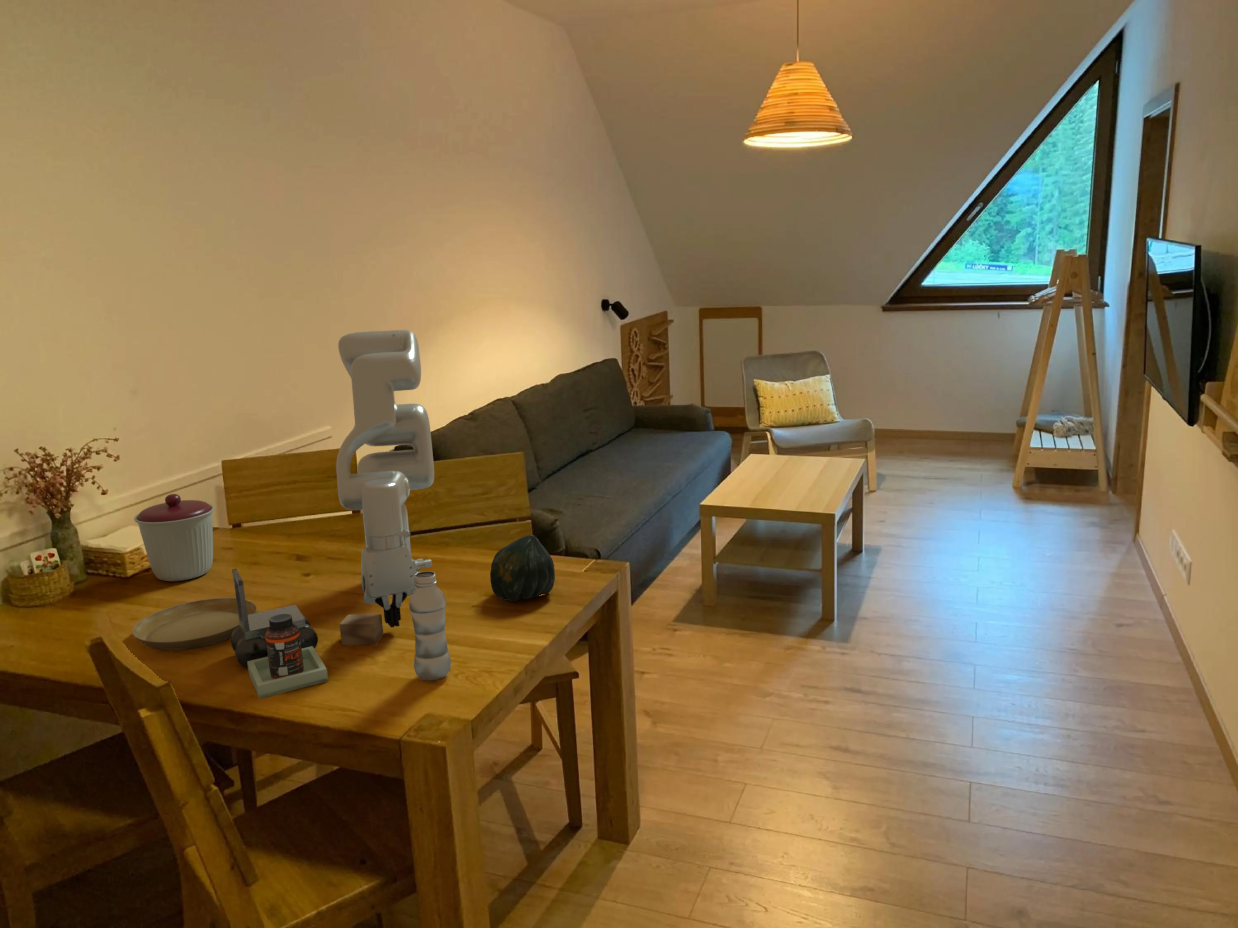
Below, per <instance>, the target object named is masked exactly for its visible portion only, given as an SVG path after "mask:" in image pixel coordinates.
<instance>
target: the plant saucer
mask: <svg viewBox="0 0 1238 928" xmlns="http://www.w3.org/2000/svg"><path fill="white" fill-rule="evenodd" d="M245 600H246V608H247V615H249V614H254V613H257V609H258V607H257V605H256V603H254V602H253V601H251V600H249V599H245ZM238 617H239V616H238V609H237V602H236V597H216V598H213V597H212V598H207V599H206V598H205V599H200V600H199V599H198V600H193V601H189V602H183V603H180V604H175V605H172V606H169V607H167V608H164V609H160V610H158V611H157V612H156V611H155V612H154V613H152V614H149V615H148V616H145V617H144V618H142V619H141V620H140V621H138V622H137V623H136V624H135V625H134V627H133V628H132V636H133V637H135V639H136V640H137V641H138V642H139V643H141V644H143V645H144V646H146V647H149V648H152V649H156V650H160V651H170V650H174V651H186V650H193V649H198V648H204V647H207V646H211V645H215V644H217V643H221V642H223V641H226V640H228V639H230V637H231V633H232V632H233V630H234V629H235V628H236V627H238V626H239V621H238Z"/></svg>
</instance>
